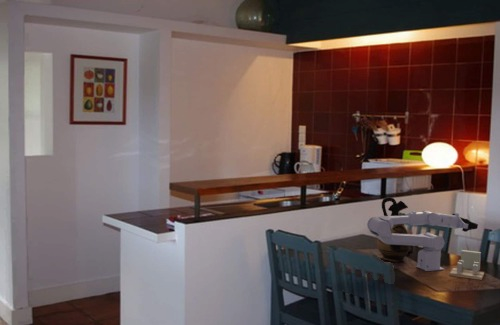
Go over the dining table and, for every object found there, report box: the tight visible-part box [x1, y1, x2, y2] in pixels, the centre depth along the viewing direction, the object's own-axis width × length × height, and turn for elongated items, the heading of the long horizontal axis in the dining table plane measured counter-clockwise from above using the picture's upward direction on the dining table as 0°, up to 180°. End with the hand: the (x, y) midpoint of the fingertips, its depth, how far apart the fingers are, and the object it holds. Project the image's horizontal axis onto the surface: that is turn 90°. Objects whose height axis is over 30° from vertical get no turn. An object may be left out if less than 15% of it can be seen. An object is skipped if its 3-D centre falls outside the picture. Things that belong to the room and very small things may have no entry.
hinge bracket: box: [449, 259, 485, 281], centre depth 253 cm, size 10×13×5 cm
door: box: [460, 249, 482, 271], centre depth 264 cm, size 3×8×8 cm, turn 63°
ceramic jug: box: [376, 196, 411, 263], centre depth 277 cm, size 17×15×30 cm
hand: (471, 224), depth 267 cm, fingers open, 7 cm apart
